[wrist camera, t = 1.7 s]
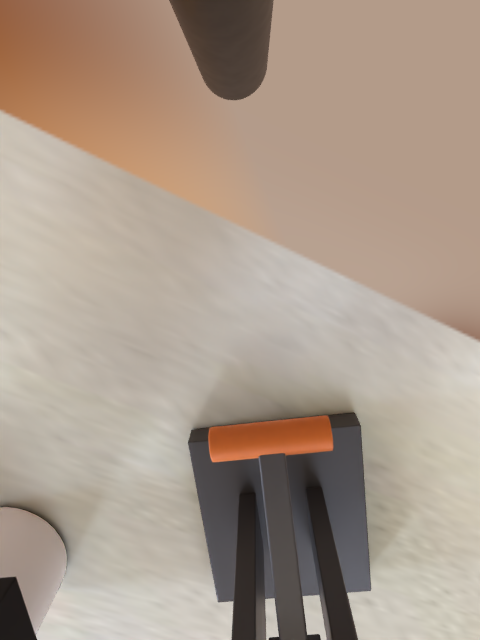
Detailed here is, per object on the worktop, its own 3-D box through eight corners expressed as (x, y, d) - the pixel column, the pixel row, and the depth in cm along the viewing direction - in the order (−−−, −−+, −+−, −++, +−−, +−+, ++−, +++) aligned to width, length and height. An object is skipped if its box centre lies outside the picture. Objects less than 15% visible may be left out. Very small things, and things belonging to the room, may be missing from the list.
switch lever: (213, 422, 19) (205, 432, 17) (324, 411, 19) (332, 419, 17) (243, 707, 18) (239, 760, 16) (361, 700, 18) (374, 753, 16)
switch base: (191, 429, 27) (137, 629, 14) (354, 412, 26) (446, 606, 14) (219, 583, 30) (194, 855, 17) (365, 571, 29) (447, 846, 17)
